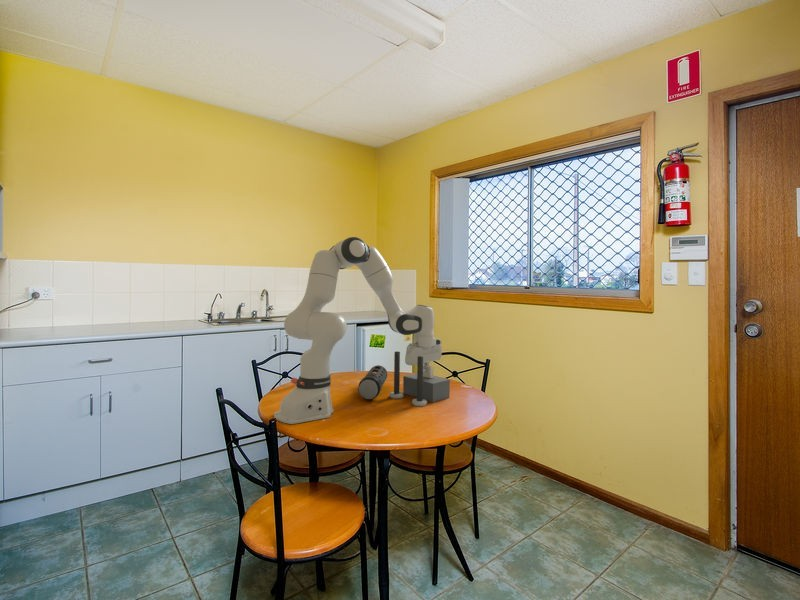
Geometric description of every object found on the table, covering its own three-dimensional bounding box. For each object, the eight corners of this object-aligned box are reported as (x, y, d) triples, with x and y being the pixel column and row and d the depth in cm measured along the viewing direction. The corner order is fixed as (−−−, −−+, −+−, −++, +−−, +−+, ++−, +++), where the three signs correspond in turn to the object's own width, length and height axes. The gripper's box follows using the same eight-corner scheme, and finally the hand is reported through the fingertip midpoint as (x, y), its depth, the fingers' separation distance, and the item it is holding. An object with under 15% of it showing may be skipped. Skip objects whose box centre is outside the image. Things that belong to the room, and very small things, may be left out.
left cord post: (396, 399, 179) (396, 353, 178) (387, 396, 183) (387, 351, 182) (406, 397, 183) (406, 352, 182) (396, 394, 187) (397, 350, 186)
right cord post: (419, 407, 169) (420, 358, 168) (409, 403, 173) (410, 356, 172) (429, 404, 173) (430, 356, 172) (419, 401, 177) (420, 354, 176)
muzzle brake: (387, 386, 202) (388, 365, 201) (379, 403, 174) (379, 378, 173) (368, 385, 203) (368, 364, 202) (356, 402, 175) (357, 378, 174)
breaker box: (432, 402, 176) (433, 383, 175) (403, 393, 189) (403, 376, 188) (449, 397, 183) (449, 379, 183) (419, 389, 196) (420, 372, 196)
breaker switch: (430, 378, 184) (430, 367, 184) (422, 376, 187) (422, 365, 187) (433, 377, 185) (433, 366, 185) (425, 375, 189) (425, 364, 189)
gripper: (412, 344, 174) (412, 377, 175) (444, 340, 188) (443, 370, 189) (402, 343, 179) (401, 374, 179) (433, 338, 193) (433, 368, 193)
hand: (423, 372), depth 184 cm, fingers closed
